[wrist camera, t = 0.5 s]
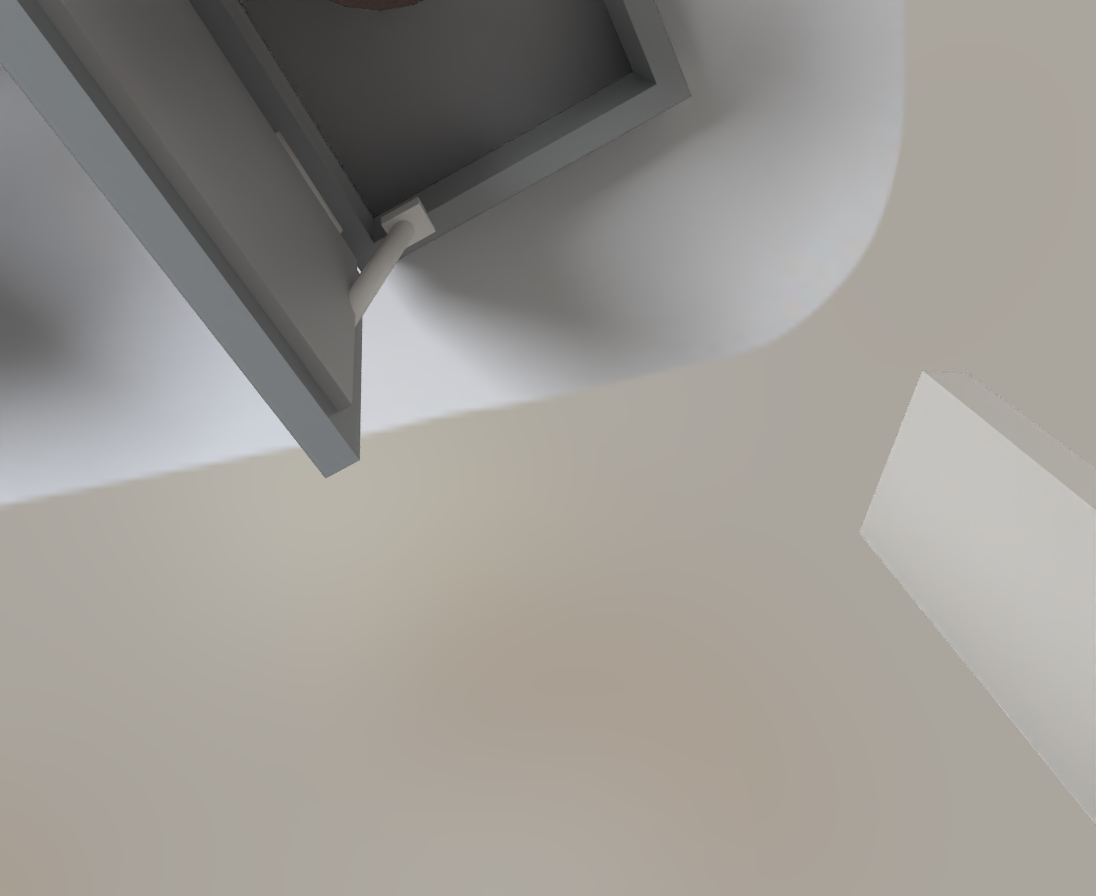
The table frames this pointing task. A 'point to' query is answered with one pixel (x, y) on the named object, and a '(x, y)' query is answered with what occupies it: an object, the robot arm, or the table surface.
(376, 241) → the case
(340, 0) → the deodorant
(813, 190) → the table surface
